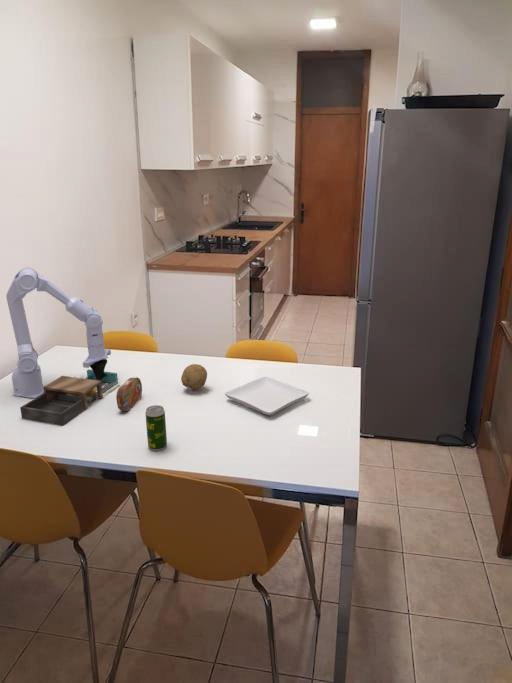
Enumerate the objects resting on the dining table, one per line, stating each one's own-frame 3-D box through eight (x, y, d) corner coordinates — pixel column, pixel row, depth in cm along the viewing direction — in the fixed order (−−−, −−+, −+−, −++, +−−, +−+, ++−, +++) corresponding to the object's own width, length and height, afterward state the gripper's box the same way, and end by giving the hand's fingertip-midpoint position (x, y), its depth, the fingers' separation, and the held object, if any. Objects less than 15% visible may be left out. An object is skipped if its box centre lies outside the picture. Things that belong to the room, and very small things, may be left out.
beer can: (158, 440, 156) (156, 403, 152) (171, 446, 153) (168, 408, 149) (144, 447, 152) (141, 409, 148) (156, 453, 149) (153, 415, 145)
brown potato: (186, 397, 184) (184, 371, 181) (178, 388, 192) (177, 362, 188) (210, 393, 187) (210, 366, 184) (202, 384, 195) (201, 358, 192)
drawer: (57, 398, 183) (55, 389, 182) (89, 378, 200) (88, 369, 198) (87, 403, 179) (86, 393, 178) (117, 382, 196) (117, 373, 195)
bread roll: (98, 397, 185) (97, 386, 184) (72, 402, 181) (71, 392, 180) (93, 388, 192) (92, 378, 190) (67, 394, 188) (66, 383, 186)
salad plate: (310, 400, 182) (311, 391, 181) (269, 422, 167) (269, 412, 166) (265, 383, 196) (265, 375, 195) (223, 402, 181) (222, 393, 180)
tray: (20, 418, 170) (17, 400, 168) (82, 380, 199) (80, 364, 197) (64, 425, 165) (61, 407, 163) (120, 385, 194) (118, 369, 192)
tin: (125, 415, 172) (122, 391, 169) (116, 414, 172) (113, 390, 170) (143, 396, 186) (141, 373, 183) (135, 395, 186) (133, 373, 183)
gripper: (93, 351, 183) (97, 388, 188) (116, 339, 196) (119, 373, 201) (76, 349, 185) (80, 385, 190) (100, 337, 198) (103, 371, 203)
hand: (99, 379), depth 195 cm, fingers closed
